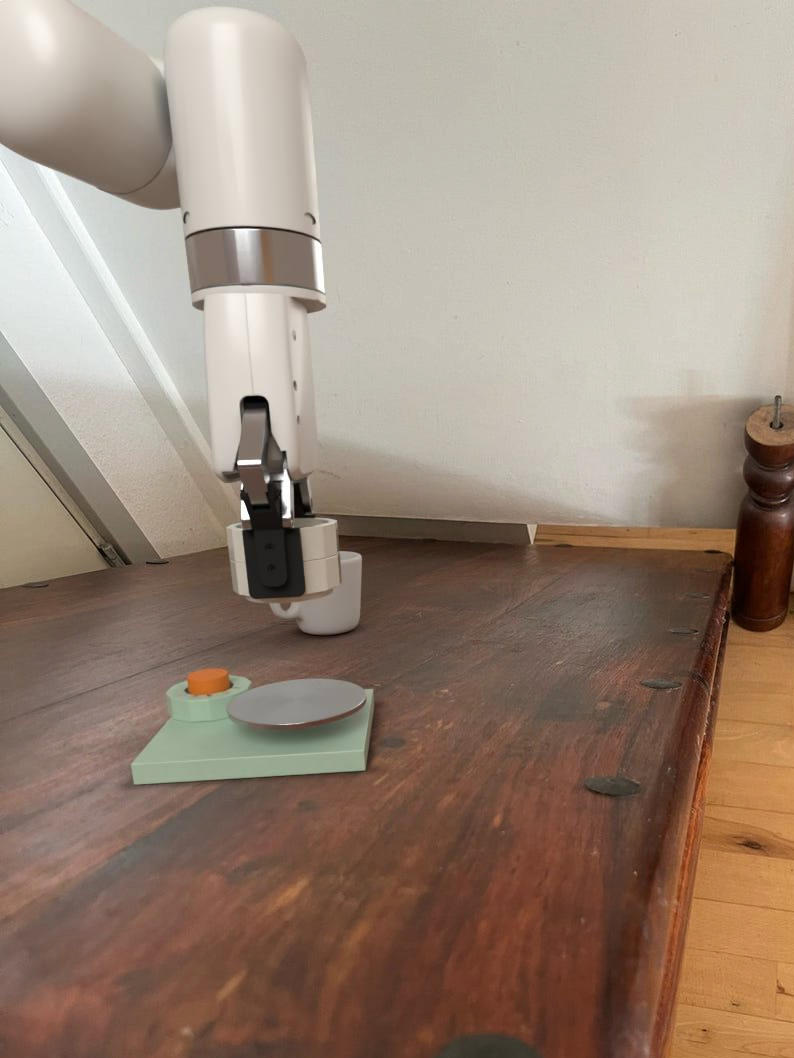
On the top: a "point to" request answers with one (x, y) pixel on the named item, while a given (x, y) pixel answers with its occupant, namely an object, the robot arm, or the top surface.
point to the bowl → (317, 559)
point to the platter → (296, 704)
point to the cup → (330, 603)
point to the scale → (246, 742)
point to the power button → (208, 681)
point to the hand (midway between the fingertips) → (287, 582)
